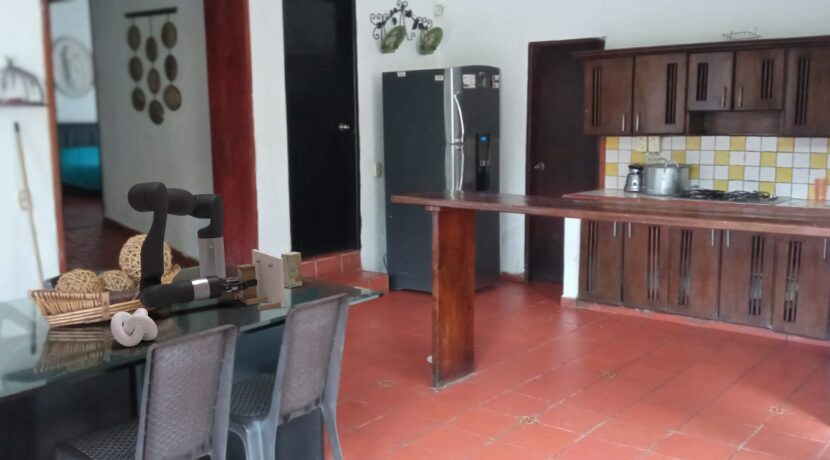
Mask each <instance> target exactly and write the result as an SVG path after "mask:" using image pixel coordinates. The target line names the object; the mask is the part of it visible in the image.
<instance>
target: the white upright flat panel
mask: <svg viewBox="0 0 830 460" xmlns="http://www.w3.org/2000/svg"><path fill="white" fill-rule="evenodd" d="M251 255H252V256H251V257H252V265H254V266H255V273H256V279H257V286H256V291H257V298H255V299H249V300H246V303H245V305H247V306H250V305H255V304H257V311H258V312H260V311H266V310H271V309H278V308H286V296H285V295H286V293H285V287H284V271H283V258H281V257H279V256H276V255H274V254H271V253H269V252H268V253H267V252H264V251H261V250H259V249H255V248H254V249H251ZM234 300H236V301H237V300H239V293H237V294H234ZM267 302H269V303H267ZM262 303H265V304H262ZM259 304H260V305H259Z"/></svg>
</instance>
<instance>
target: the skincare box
mask: <svg viewBox="0 0 830 460" xmlns="http://www.w3.org/2000/svg"><path fill="white" fill-rule="evenodd" d="M280 256H281V257H280V258H283V271H284V288H288V289H292V288H296V287H301V286H303V275H302V274H303V271H302V253H301V252H298V251H291V252H285V253H281V255H280Z"/></svg>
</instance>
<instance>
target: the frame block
mask: <svg viewBox="0 0 830 460" xmlns="http://www.w3.org/2000/svg"><path fill="white" fill-rule="evenodd" d="M236 268H237V269H236V270H237V277H238V280H239V281H243V280H252V279H256V273H255V266H254V265H253V264H251V263H247V264H241V265H237V266H236ZM242 286H243V284H242ZM238 294H239V299H238V300H239V301H240V302H242V303H244V304H246V300H249V299H255V298H258V297H257V291H256V286H251V287H247V289H246V290H242V291H238Z"/></svg>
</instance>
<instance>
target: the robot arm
mask: <svg viewBox="0 0 830 460" xmlns="http://www.w3.org/2000/svg"><path fill="white" fill-rule="evenodd" d="M126 198H127V202H128V204H129V205H130V207H131V208H132V209H133V210H134V211H136V212H139V213H148V212H151V213H152V212H153V219H152V222H151V223H152V224H151V226H150V229H149V230H148V232H147V235H146V237H145V239H144V240H143V242H142V245H141V248H140V259H139V260H140V261H139V262H140V279H139V289H138V297H139V301H140V304H141V305H143V306H144V307H145V308H147V309H153V308H154V309H155V308H156V309H157V308H160V307H161V308H162V307H165V306H166V307H167V306H170V305H174V304H185V303H191V302H201V301H209V300H214V299H219V298H221V297H222V295H223V292H226V293H233V294H234V293H237V292H238V293H239V291H242V290H246V289H247V287H251V286H257V279H252V280H243V281H239V280H238V276H230V277H229V276H228V277H227V274H226V261H225V245H224V243H225V242H224V201H223V198H222V197H221V195H220V194H219V193H198V194H193V193H192V192H190V191H189V190H186V189H183V188H178V187H177V188H176V187H175V188H173V187H167V186H166V185H165V184H164V183H163V182H162V181H149V182H141V183H135V184H134V185H132V186H131V187H130V188H129V189H128V192H127V197H126ZM168 215H172V216H177V217H178V216H179V217H183V216H184V217H186V216H190V217H192V218H195V219H200V220H201V219H202V220H209V224H208V225H207V226H205V227H201V228H199V229H198V230H197V245H198V247H197V248H198V260H199V261H198V262H199V276H200V277H196V278H192V279H188V280H187V279H186V280H181V281H180V280H179V281H175V282H173V283H172V282H169V283H162V277H163V276H164V274H165V255H164V254H165V253H164V251H165V235H166V228H167V220H168ZM242 284H243V286H242ZM139 291H140V293H139Z"/></svg>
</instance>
